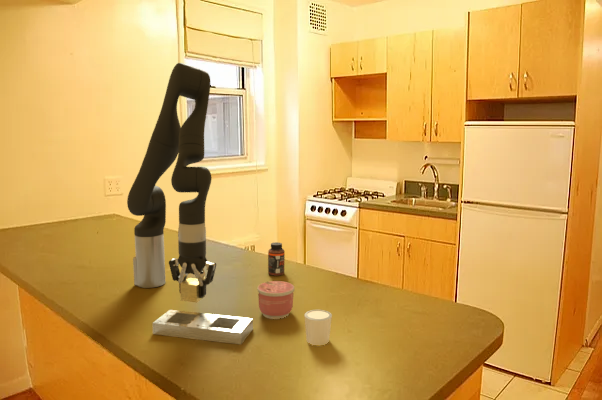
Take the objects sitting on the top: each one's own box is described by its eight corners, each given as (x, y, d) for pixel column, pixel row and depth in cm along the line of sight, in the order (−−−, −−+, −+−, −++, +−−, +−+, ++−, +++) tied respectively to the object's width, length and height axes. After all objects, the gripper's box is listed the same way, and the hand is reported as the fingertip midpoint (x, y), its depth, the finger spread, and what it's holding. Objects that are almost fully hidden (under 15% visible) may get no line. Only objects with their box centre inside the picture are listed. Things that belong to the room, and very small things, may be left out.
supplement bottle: (282, 276, 165) (282, 246, 163) (266, 275, 166) (266, 245, 165) (286, 271, 171) (286, 242, 169) (270, 270, 172) (270, 241, 170)
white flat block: (152, 333, 119) (152, 322, 119) (170, 320, 128) (169, 309, 127) (240, 344, 114) (240, 332, 113) (252, 329, 122) (252, 318, 122)
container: (274, 303, 140) (274, 278, 139) (301, 312, 134) (301, 286, 132) (249, 314, 132) (249, 287, 131) (277, 324, 126) (277, 296, 124)
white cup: (303, 335, 119) (303, 309, 118) (329, 334, 120) (329, 308, 119) (305, 347, 112) (305, 320, 111) (333, 346, 113) (334, 319, 112)
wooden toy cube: (180, 300, 130) (180, 283, 129) (189, 294, 135) (189, 277, 134) (196, 302, 129) (196, 285, 128) (204, 296, 134) (204, 279, 133)
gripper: (221, 237, 131) (221, 294, 134) (176, 232, 134) (176, 288, 137) (209, 243, 124) (210, 304, 126) (162, 238, 127) (163, 297, 130)
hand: (192, 295), depth 132 cm, fingers closed on wooden toy cube, 5 cm apart
